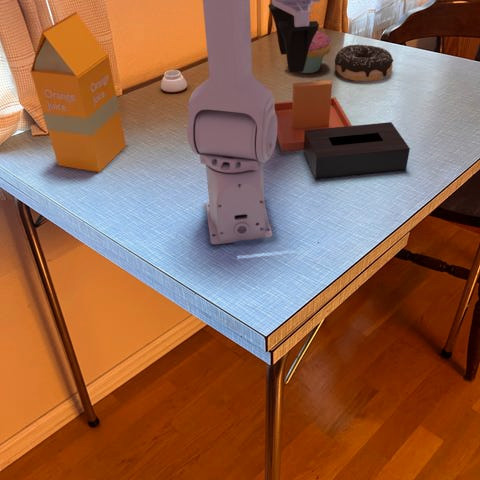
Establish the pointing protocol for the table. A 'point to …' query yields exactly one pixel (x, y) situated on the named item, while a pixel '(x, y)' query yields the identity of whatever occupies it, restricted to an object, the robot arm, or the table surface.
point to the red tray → (295, 137)
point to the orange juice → (77, 96)
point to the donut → (363, 62)
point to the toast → (311, 104)
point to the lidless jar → (173, 81)
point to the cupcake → (317, 52)
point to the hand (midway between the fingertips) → (291, 62)
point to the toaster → (355, 150)
